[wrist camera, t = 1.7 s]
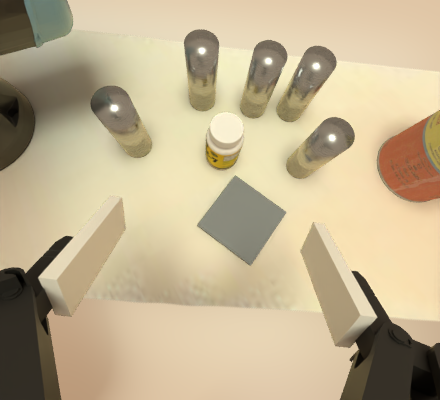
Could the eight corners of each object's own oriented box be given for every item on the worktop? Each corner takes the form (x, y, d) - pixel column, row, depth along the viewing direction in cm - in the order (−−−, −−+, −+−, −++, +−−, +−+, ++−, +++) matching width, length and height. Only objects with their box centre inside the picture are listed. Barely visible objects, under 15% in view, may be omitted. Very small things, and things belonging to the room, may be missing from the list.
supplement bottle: (200, 148, 34) (199, 116, 26) (228, 136, 35) (236, 102, 26) (213, 175, 33) (216, 152, 25) (242, 163, 34) (254, 137, 26)
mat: (197, 225, 31) (197, 225, 31) (234, 176, 33) (235, 175, 32) (249, 264, 31) (250, 265, 30) (284, 213, 33) (286, 212, 32)
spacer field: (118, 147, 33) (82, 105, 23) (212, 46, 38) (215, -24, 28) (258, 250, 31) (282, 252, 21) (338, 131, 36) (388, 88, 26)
